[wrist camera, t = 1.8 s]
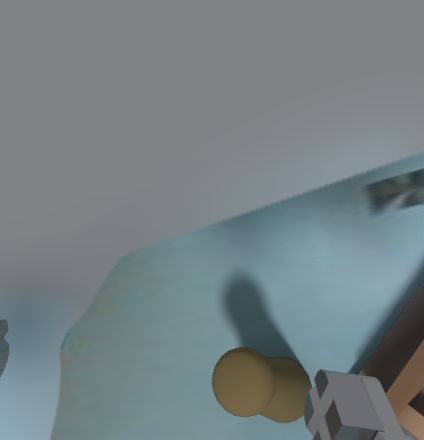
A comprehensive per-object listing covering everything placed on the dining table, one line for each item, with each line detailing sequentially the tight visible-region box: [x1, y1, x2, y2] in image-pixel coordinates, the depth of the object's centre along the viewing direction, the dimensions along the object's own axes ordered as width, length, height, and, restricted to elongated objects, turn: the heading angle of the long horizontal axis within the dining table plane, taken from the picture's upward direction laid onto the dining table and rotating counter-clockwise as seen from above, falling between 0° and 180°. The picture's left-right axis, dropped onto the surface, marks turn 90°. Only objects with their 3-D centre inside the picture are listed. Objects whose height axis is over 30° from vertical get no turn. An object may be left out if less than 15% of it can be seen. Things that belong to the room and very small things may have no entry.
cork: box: [212, 347, 312, 423], centre depth 33 cm, size 6×6×11 cm
